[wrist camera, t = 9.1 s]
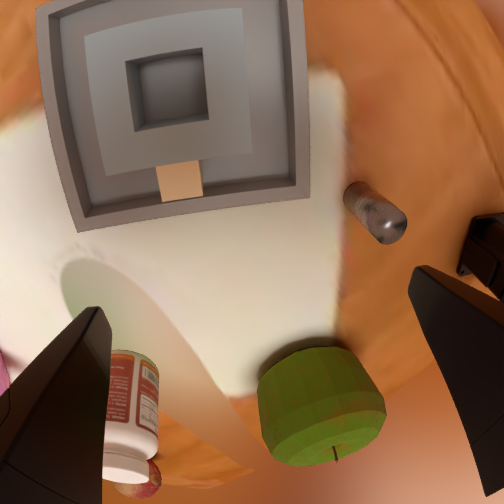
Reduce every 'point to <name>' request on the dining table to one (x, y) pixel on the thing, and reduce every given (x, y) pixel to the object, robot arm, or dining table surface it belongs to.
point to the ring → (175, 129)
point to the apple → (318, 406)
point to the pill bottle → (131, 418)
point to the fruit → (142, 484)
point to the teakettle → (3, 376)
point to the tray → (177, 109)
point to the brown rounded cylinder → (375, 212)
